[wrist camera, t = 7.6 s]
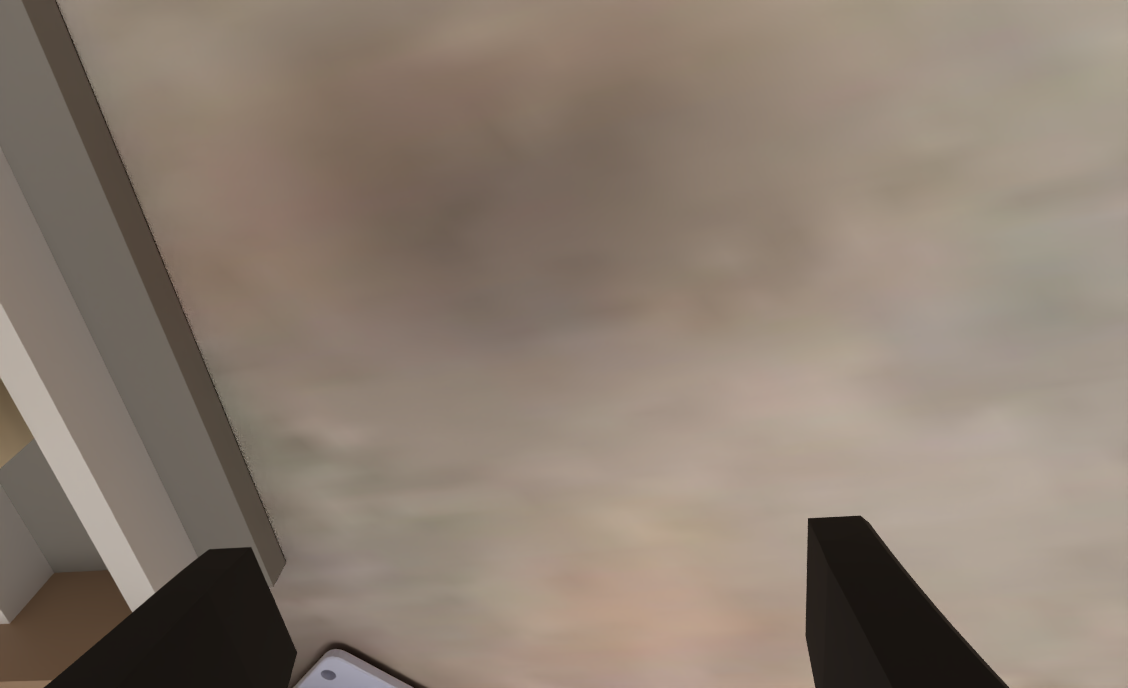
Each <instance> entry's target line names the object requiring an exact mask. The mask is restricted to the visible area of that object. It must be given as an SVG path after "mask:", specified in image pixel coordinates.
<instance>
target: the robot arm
mask: <svg viewBox="0 0 1128 688" xmlns="http://www.w3.org/2000/svg"><path fill="white" fill-rule="evenodd" d="M806 641H807V646H808V651H809V656H810V662H811V667H812V672H813V677H814V683H815V688H1009V687H1008V686H1007V685H1006V684H1005V683H1004V682H1003V680H1002V679H1001V678H1000V677H999V676H998V675H997V674H996V673H995V672H994V671H993V670H992V669H991V668H990V666H989V665H988V664H987V663H986V662H985V661H984V660H983V659H982V658H981V657H980V655H979V654H978V653H977V652H976V651H975V650H974V649H973V648H972V647H971V646H970V644H969V643H968V642H967V641H966V640H965V639H964V638H963V637H962V636H961V634H960V633H959V632H958V631H957V630H956V629H955V628H954V627H953V626H952V624H951V623H950V622H949V621H948V620H947V619H946V618H945V616H944V615H943V614H942V613H941V612H940V611H939V609H938V608H937V607H936V606H935V605H934V604H933V602H932V601H931V600H930V599H929V598H928V596H927V595H926V594H925V593H924V592H923V590H922V589H921V588H920V587H919V586H918V584H917V583H916V582H915V581H914V580H913V578H912V577H911V576H910V575H909V574H908V572H907V571H906V570H905V569H904V567H903V566H902V565H901V564H900V562H899V561H898V560H897V559H896V557H895V556H894V555H893V554H892V552H891V551H890V550H889V548H888V547H887V546H886V544H885V543H884V542H883V541H882V539H881V538H880V537H879V535H878V534H877V533H876V531H875V530H874V529H873V527H872V526H871V525H870V523H869V522H867V521H866V520H865V519H864V518H863V517H861V516H845V517H825V518H808V547H807V594H806ZM296 655H297V651H296V649H295V647H294V644H293V642H292V640H291V637H290V635H289V633H288V630H287V628H286V626H285V623H284V621H283V619H282V617H281V614H280V612H279V610H278V607H277V605H276V603H275V600H274V598H273V596H272V594H271V591H270V589H269V587H268V584H267V582H266V580H265V577H264V575H263V573H262V570H261V568H260V566H259V564H258V561H257V559H256V557H255V554H254V552H253V550H252V547H241V548H222V549H209V550H207V551H206V552H205V553H203V554H202V555H201V556H199V557H198V558H197V559H196V560H194V561H193V562H192V563H190V564H189V565H188V566H187V567H186V568H184V569H183V570H182V571H181V572H179V573H178V574H177V575H176V576H175V577H173V578H172V579H171V580H170V581H169V582H167V583H166V584H165V585H164V586H163V587H162V588H160V589H159V590H158V591H157V592H156V593H154V594H153V595H152V596H151V597H150V598H149V599H147V600H146V601H145V602H144V603H143V604H142V605H140V606H139V607H138V608H137V609H136V610H135V611H133V612H132V613H131V614H130V615H129V616H128V617H126V618H125V619H124V620H123V621H122V622H121V623H119V624H118V625H117V626H116V627H115V628H114V629H112V630H111V631H110V632H109V633H108V634H107V635H105V636H104V637H103V638H102V639H101V640H100V641H98V642H97V643H96V644H95V645H94V646H92V647H91V648H90V649H89V650H88V651H87V652H85V653H84V654H83V655H82V656H81V657H79V658H78V659H77V660H76V661H75V662H74V663H72V664H71V665H70V666H69V667H68V668H67V669H65V670H64V671H63V672H62V673H61V674H59V675H58V676H57V677H56V678H55V679H54V680H52V681H51V682H50V683H49V684H47V685H46V686H45V687H44V688H288V684H289V681H290V677H291V673H292V669H293V666H294V662H295V658H296ZM293 688H413V687H411V686H410V685H408V684H406V683H404V682H402V681H400V680H398V679H397V678H395V677H393V676H391V675H389V674H387V673H385V672H383V671H382V670H380V669H378V668H376V667H374V666H372V665H370V664H368V663H367V662H365V661H363V660H361V659H359V658H357V657H355V656H354V655H352V654H350V653H348V652H346V651H344V650H341V649H333V650H329V651H328V652H326V653H325V654H324V655H323V656H322V657H321V658H320V660H319V661H318V662H317V663H316V664H315V665H314V666H313V667H312V668H311V669H310V670H309V671H308V672H307V673H306V674H305V675H304V677H303V678H302V679H301V680H300V681H299V682H298V683H297V684H296V685H295V686H294V687H293Z"/></svg>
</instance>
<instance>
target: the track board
mask: <svg viewBox="0 0 1128 688" xmlns="http://www.w3.org/2000/svg"><path fill="white" fill-rule="evenodd" d="M0 378H1V380H2V381H3V383H4V385H5V387H6V388H7V390H8V392H9V394H10V396H11V397H12V399H13V401H14V403H15V405H16V406H17V408H18V410H19V412H20V413H21V415H22V417H23V419H24V421H25V422H26V424H27V426H28V428H29V429H30V431H31V433H32V435H33V437H34V439H33V440H32V441H31V442H30V443H28V444H27V445H26V446H25V447H24V448H23V449H22V450H20V451H19V452H18V453H17V454H16V455H15V456H14V457H13V458H11V459H10V460H9V461H8V462H7V463H6V464H5V465H4V466H2V467H1V468H0V688H44V687H45V686H46V685H47V684H49V683H50V682H51V681H52V680H54V679H55V678H56V677H57V676H58V675H59V674H61V673H62V672H63V671H64V670H65V669H67V668H68V667H69V666H70V665H71V664H72V663H74V662H75V661H76V660H77V659H78V658H79V657H81V656H82V655H83V654H84V653H85V652H87V651H88V650H89V649H90V648H91V647H92V646H94V645H95V644H96V643H97V642H98V641H100V640H101V639H102V638H103V637H104V636H105V635H107V634H108V633H109V632H110V631H111V630H112V629H114V628H115V627H116V626H117V625H118V624H119V623H121V622H122V621H123V620H124V619H125V618H126V617H128V616H129V615H130V614H131V613H132V612H133V611H135V610H136V609H137V608H138V607H139V606H140V605H142V604H143V603H144V602H145V601H146V600H147V599H149V598H150V597H151V596H152V595H153V594H154V593H156V592H157V591H158V590H159V589H160V588H162V587H163V586H164V585H165V584H166V583H167V582H169V581H170V580H171V579H172V578H173V577H175V576H176V575H177V574H178V573H179V572H181V571H182V570H183V569H184V568H186V567H187V566H188V565H189V564H190V563H192V562H193V561H194V560H196V559H197V558H198V557H199V556H201V555H202V554H203V553H205V552H206V551H207V550H209V549H222V548H241V547H252V550H253V552H254V554H255V557H256V559H257V561H258V564H259V566H260V568H261V570H262V573H263V575H264V577H265V580H266V582H267V584H268V587H273V586H274V585H275V583H276V581H277V579H278V577H279V575H280V573H281V571H282V569H283V567H284V566H285V564H286V562H285V560H284V557H283V555H282V552H281V550H280V547H279V545H278V542H277V540H276V538H275V535H274V533H273V530H272V528H271V525H270V523H269V521H268V518H267V516H266V513H265V511H264V508H263V506H262V503H261V501H260V499H259V496H258V494H257V491H256V489H255V486H254V484H253V482H252V479H251V477H250V474H249V472H248V469H247V467H246V465H245V462H244V460H243V457H242V455H241V452H240V450H239V447H238V445H237V443H236V440H235V438H234V435H233V433H232V430H231V428H230V426H229V423H228V421H227V418H226V416H225V413H224V411H223V409H222V406H221V404H220V401H219V399H218V396H217V394H216V391H215V389H214V387H213V384H212V382H211V379H210V377H209V374H208V372H207V370H206V367H205V365H204V362H203V360H202V357H201V355H200V353H199V350H198V348H197V345H196V343H195V340H194V338H193V335H192V333H191V331H190V328H189V326H188V323H187V321H186V318H185V316H184V314H183V311H182V309H181V306H180V304H179V301H178V299H177V297H176V294H175V292H174V289H173V287H172V284H171V282H170V279H169V277H168V275H167V272H166V270H165V267H164V265H163V262H162V260H161V258H160V255H159V253H158V250H157V248H156V245H155V243H154V241H153V238H152V236H151V233H150V231H149V228H148V226H147V223H146V221H145V219H144V216H143V214H142V211H141V209H140V206H139V204H138V202H137V199H136V197H135V194H134V192H133V189H132V187H131V185H130V182H129V180H128V177H127V175H126V172H125V170H124V167H123V165H122V163H121V160H120V158H119V155H118V153H117V150H116V148H115V146H114V143H113V141H112V138H111V136H110V133H109V131H108V129H107V126H106V124H105V121H104V119H103V116H102V114H101V111H100V109H99V107H98V104H97V102H96V99H95V97H94V94H93V92H92V90H91V87H90V85H89V82H88V80H87V77H86V75H85V73H84V70H83V68H82V65H81V63H80V60H79V58H78V55H77V53H76V51H75V48H74V46H73V43H72V41H71V38H70V36H69V34H68V31H67V29H66V26H65V24H64V21H63V19H62V17H61V14H60V12H59V9H58V7H57V4H56V2H55V0H0Z"/></svg>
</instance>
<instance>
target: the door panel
mask: <svg viewBox="0 0 1128 688" xmlns="http://www.w3.org/2000/svg"><path fill="white" fill-rule="evenodd" d="M33 439H34V437H33V435H32V433H31V431H30V429H29V428H28V426H27V424H26V422H25V421H24V419H23V417H22V415H21V413H20V412H19V410H18V408H17V406H16V405H15V403H14V401H13V399H12V397H11V396H10V394H9V392H8V390H7V388H6V387H5V385H4V383H3V381H2V380H1V378H0V468H1V467H2V466H4V465H5V464H6V463H7V462H8V461H9V460H10V459H11V458H13V457H14V456H15V455H16V454H17V453H18V452H19V451H20V450H22V449H23V448H24V447H25V446H26V445H27V444H28V443H30V442H31V441H32V440H33Z"/></svg>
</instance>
